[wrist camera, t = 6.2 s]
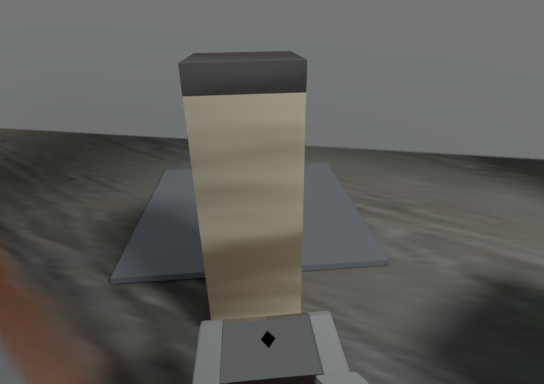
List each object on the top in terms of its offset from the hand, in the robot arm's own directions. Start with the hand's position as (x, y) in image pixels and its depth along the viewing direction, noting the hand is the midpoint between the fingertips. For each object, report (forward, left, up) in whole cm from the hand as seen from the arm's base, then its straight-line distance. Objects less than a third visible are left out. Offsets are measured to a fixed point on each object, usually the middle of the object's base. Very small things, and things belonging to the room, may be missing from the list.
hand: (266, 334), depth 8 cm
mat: (-4, -17, -6) cm, 19 cm away
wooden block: (-2, -7, -6) cm, 10 cm away
